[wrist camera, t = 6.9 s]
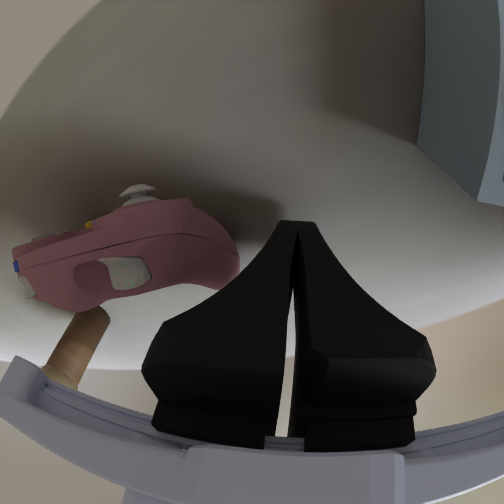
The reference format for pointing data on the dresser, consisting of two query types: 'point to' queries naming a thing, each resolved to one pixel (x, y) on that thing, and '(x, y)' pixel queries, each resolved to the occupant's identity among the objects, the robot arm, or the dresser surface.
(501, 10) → the hollow square tube
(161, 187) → the dresser surface
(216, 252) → the video game controller
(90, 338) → the post
